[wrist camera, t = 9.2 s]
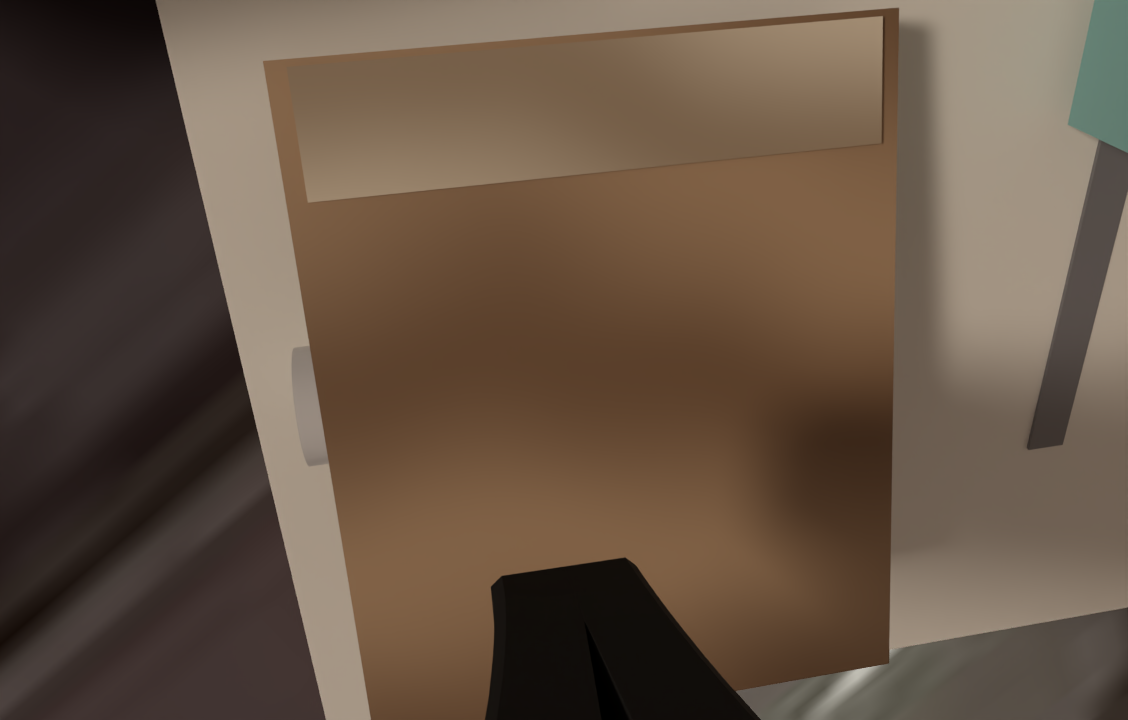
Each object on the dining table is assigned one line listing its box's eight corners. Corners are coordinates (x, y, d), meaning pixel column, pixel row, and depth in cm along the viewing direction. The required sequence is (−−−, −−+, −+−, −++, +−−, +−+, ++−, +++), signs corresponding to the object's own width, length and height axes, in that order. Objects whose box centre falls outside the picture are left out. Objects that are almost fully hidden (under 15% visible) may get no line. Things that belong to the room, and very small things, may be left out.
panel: (1318, 537, 27) (1428, 622, 24) (333, 705, 23) (331, 828, 20) (1609, -126, 19) (1823, -110, 16) (166, -21, 15) (127, 22, 12)
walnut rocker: (868, 638, 18) (891, 666, 18) (377, 724, 17) (376, 758, 16) (873, 10, 15) (902, 7, 14) (269, 60, 14) (261, 60, 13)
